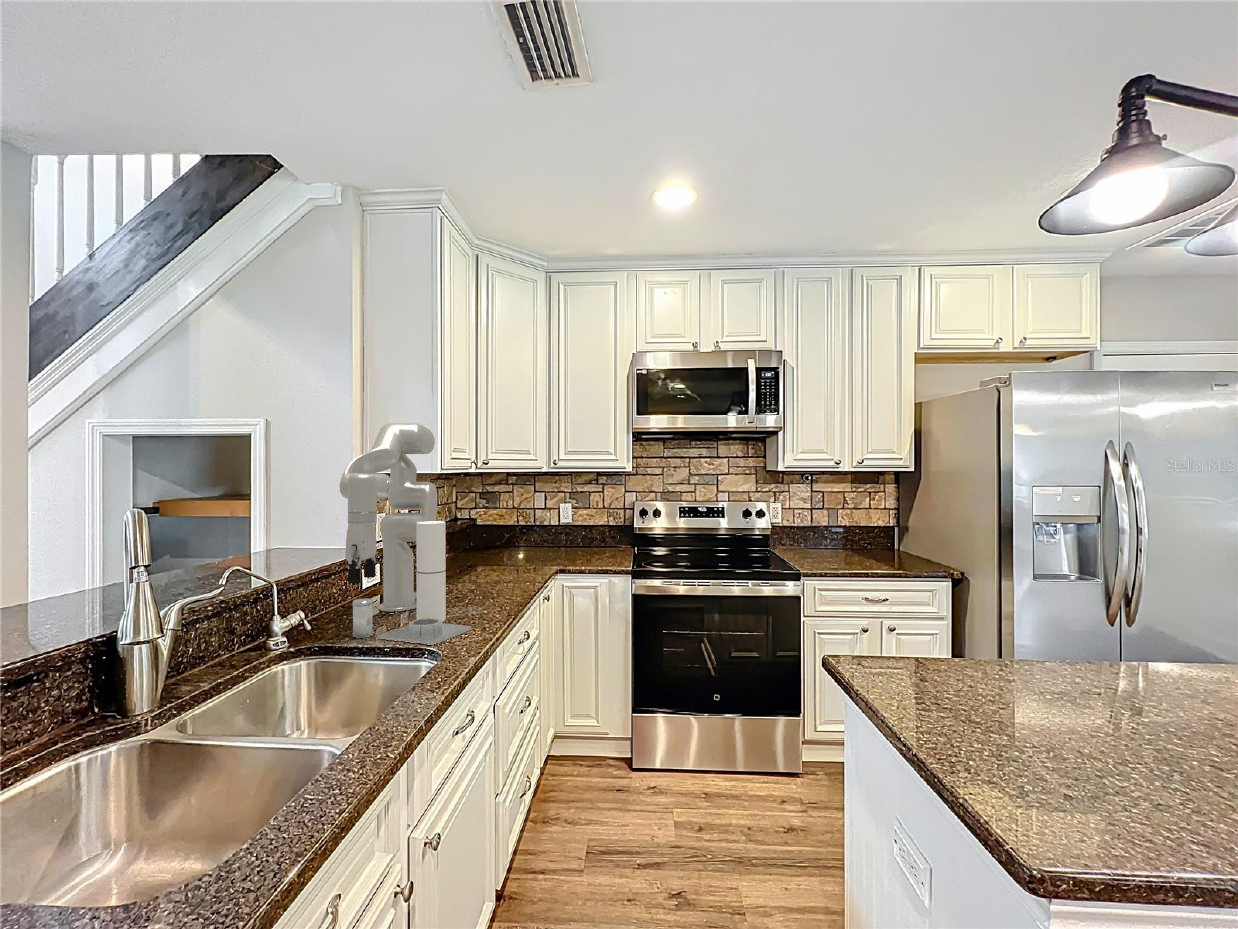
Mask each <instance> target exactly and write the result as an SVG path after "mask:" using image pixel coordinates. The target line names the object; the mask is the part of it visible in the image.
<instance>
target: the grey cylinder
mask: <svg viewBox="0 0 1238 929" xmlns="http://www.w3.org/2000/svg"><path fill="white" fill-rule="evenodd" d="M373 602H374V600H373V599H372V598H359V599H353V601H352V638H353V637H357V638H363V637H369V638H371V637H370V636H372V637H373V604H374V603H373Z"/></svg>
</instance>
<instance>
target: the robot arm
mask: <svg viewBox="0 0 1238 929" xmlns="http://www.w3.org/2000/svg"><path fill="white" fill-rule="evenodd" d="M435 441H436V440H435V436H434V433H433V432H432V430H430V428H428V427H426V426H424V424H421V423H413V422H412V423H411V422H410V423H409V422H400V423H399V422H395V423H393V422H392V423H387V424H384V425H383V426H382V427H381V428H380V429H379V431H378V433H377V435H376V437H375V440H374V442H373V445H372V447H371V449H369V450H368V451H366V452H364V453H362V454H361V455H359V456H357V457H355V458H353V459H352V460H351V461H350V462H349V463H348V464H347V465H346V466H345V469H344V471H343V472H342V476H341V477H340V481H339V493H340V495H341V496H342V497H343V498H344V499H347V530H346V536H345V537H346V538H345V560H346V564H347V569H348V572H347V574H348V578H347V579H348V580H347V581H348V584H352V585H353V584H361V582H362V581H361V580H362V579H361V578H362V572H361V571H362V568H361V567H360V566H361V563H362V561H364V563H363V577H364V578H367V579H368V578H371V579H372V578H375V577H376V575H377V574H376V572H377V570H376V568H377V567H376V566H377V565H376V563H377V558H376V557H377V555H378V554H377V552H378V551H377V550H378V546H377V531H376V530H377V529H376V524H378V519H377V518H378V517H377V516H378V510H377V509H378V500H384V499H386V498H387V499H388V500H387V503H388V505H389V507H390V508H391V509H394V510H399V511H400V510H401V511H402V510H404V511H409V510H412V511H414V510H417V511H418V510H419V511H421V512H392V513H388V514H386V515H384V516H383V517H382V518H381V520H380V524H379V527H380V536H381V541H382V552H383V553H382V554H383V558H382V560H383V571H382V572H383V576H382V578H383V580H382V581H383V583H382V584H383V590H382V591H383V594H382V595H383V602H382V603H380V604H379V605H378V610H379V611H382V612H388V613H389V612H390V613H391V612H394V611H395V612H404V611H405V610H406V611H410V609H411V610H414V609H417V591H414V587H415V586H414V584H415V583H414V582H415V581H414V580H415V579H414V578H415V577H414V573H415V572H414V564H415V563H414V560H415V556H414V553H413V550H412V548H411V547H410V546H409V544H408V543H407V542H416V523H417V522H425V521H437V511H438V510H437V509H438V489H437V487H436V485H435V484H434V483H432V482H430V481H417V471H418V470H417V466H416V465H415V463H414V462H413V461H412V460H411V459H410V458H409V457H408V456H407V455H427V454H431V453H432V452H433V450H434V448H435V445H436V444H435V443H436V442H435ZM387 470H390V472H389V474H390V476H389V475H388V474H385V473H381V472H384V471H387Z"/></svg>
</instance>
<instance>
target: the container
mask: <svg viewBox="0 0 1238 929" xmlns="http://www.w3.org/2000/svg"><path fill="white" fill-rule="evenodd" d="M446 532H447V531H446V521H442V520H436V521H425V522H417V523H416V541H415V542H416V543H415V546H416V548H415V549H416V551H415V552H416V562H415V564H416V575H415V576H416V578H415V579H416V581H415V582H416V592H417V598H416V602H417V608H416V619H424V618H435V619H441V621H442V623H444V622H445V621H446V620H447V616H446V614H447V612H446V611H447V610H446V609H447V608H446V606H447V605H446V600H447V599H446V598H447V597H446V596H447V595H446V590H447V589H446V587H447V583H446V582H447V581H446V578H447V576H446V573H447V572H446V570H447V569H446V568H447V567H446V560H447V559H446V556H447V555H446V553H447V552H446V550H447V549H446V538H447V537H446Z"/></svg>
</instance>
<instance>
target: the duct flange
mask: <svg viewBox="0 0 1238 929" xmlns="http://www.w3.org/2000/svg"><path fill="white" fill-rule="evenodd" d="M471 630H472V625H463V624H462V625H461V624H453V623H446V622H445V623H444V622H442V621H441V619H435V618H424V619H417V618H416V619H414V620H411V621H409V622H408V624H406V625H404V626H401V627H399V628H396V629H392V630H390V631H386V632H384V633H381V634H378V635H377V636H376V639H377V638H380V639H386V640H398V641H405V642H410V643H423V644H427V645H433V646H435V645H437V644H436V643H438V644H440V643H442V642H445V641H447V640H450V639H452V638H455V637H457V636H459V635H461V634H465V633H468V632H469V631H471ZM386 640H385V641H386ZM410 643H409V644H410ZM434 644H435V645H434Z"/></svg>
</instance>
